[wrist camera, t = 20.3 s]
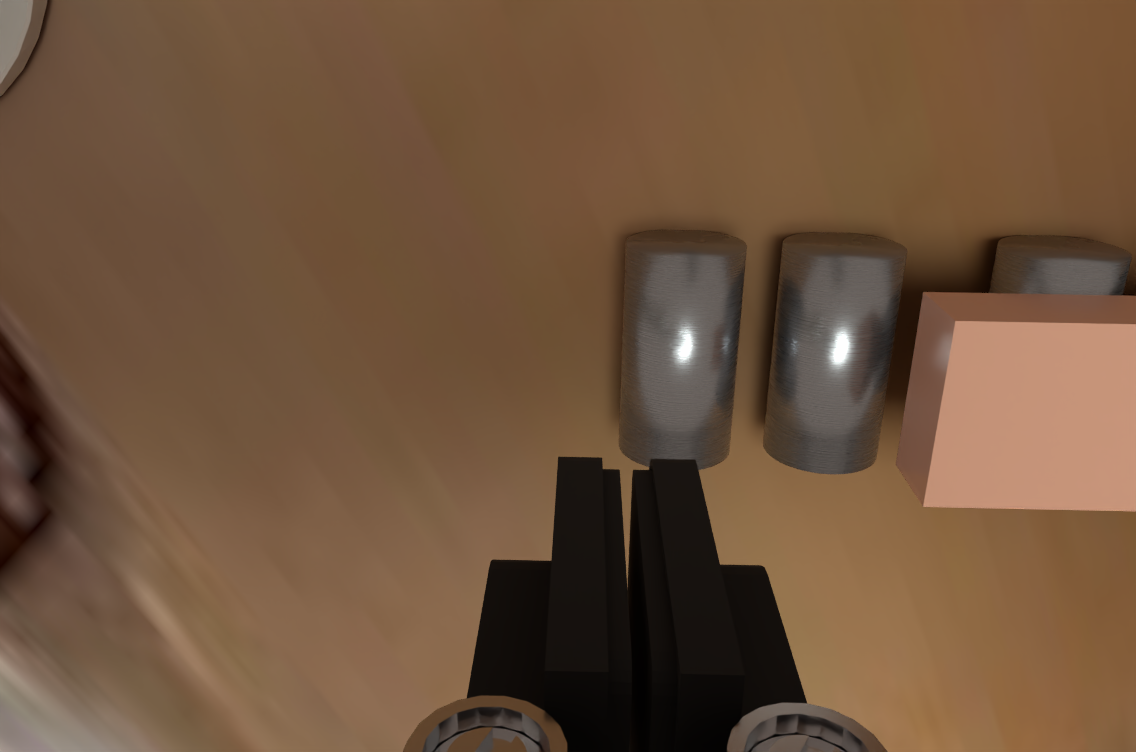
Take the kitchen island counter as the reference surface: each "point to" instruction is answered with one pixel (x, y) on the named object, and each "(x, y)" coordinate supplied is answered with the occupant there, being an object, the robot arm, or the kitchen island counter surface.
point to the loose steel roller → (1058, 266)
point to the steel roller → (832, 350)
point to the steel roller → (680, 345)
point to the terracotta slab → (1022, 402)
